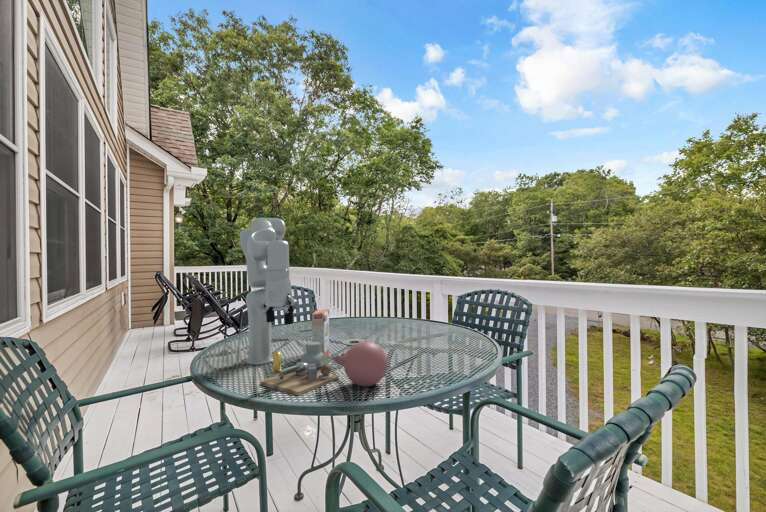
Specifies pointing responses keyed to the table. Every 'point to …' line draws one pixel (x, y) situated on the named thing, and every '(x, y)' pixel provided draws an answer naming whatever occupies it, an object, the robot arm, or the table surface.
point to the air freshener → (314, 354)
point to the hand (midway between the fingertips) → (279, 322)
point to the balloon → (363, 363)
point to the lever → (283, 372)
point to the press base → (300, 381)
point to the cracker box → (321, 329)
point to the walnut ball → (325, 369)
